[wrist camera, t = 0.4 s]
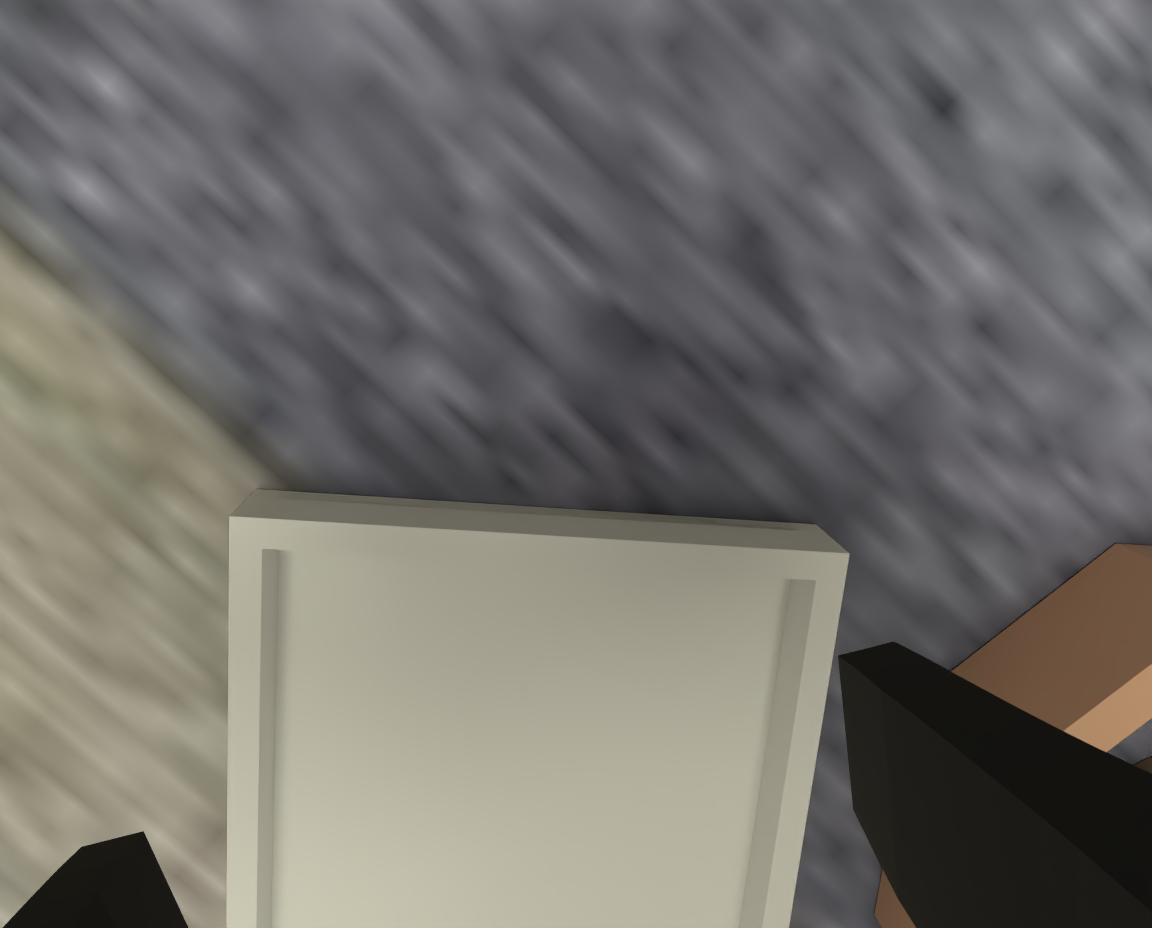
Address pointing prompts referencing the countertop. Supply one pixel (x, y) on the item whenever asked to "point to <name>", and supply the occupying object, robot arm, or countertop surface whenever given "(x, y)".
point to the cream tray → (520, 714)
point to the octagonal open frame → (1071, 664)
